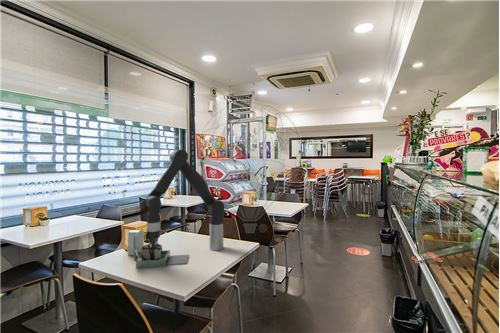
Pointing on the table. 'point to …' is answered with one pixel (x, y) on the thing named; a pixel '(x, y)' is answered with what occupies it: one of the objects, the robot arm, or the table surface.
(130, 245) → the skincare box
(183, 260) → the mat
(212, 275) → the table surface
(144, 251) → the food container
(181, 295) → the table surface
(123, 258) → the table surface
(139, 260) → the case
